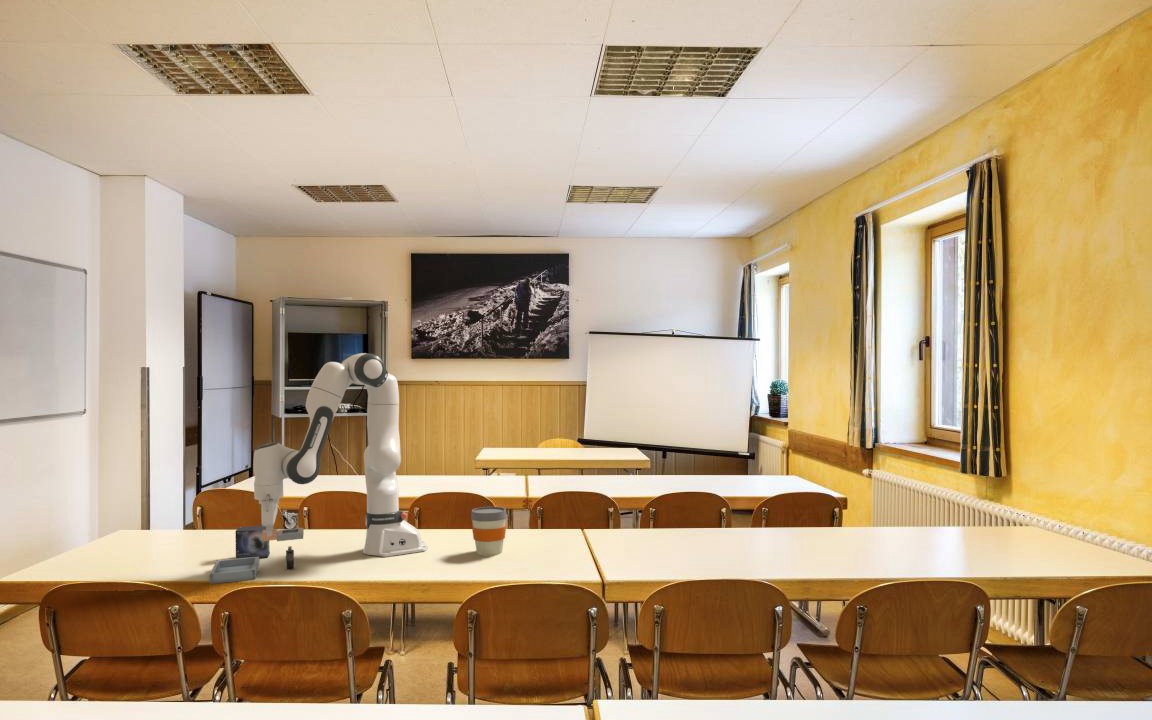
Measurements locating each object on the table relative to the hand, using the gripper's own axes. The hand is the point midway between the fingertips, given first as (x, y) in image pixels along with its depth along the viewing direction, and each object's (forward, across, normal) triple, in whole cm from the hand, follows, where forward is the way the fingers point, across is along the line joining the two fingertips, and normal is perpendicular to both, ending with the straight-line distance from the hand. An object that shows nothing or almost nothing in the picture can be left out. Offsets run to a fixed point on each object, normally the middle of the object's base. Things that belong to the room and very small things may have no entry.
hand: (270, 534), depth 246 cm
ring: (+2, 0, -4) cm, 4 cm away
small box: (+12, +21, +7) cm, 25 cm away
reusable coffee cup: (+13, -5, -72) cm, 73 cm away
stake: (+12, 0, -6) cm, 13 cm away
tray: (+12, 0, +11) cm, 16 cm away
